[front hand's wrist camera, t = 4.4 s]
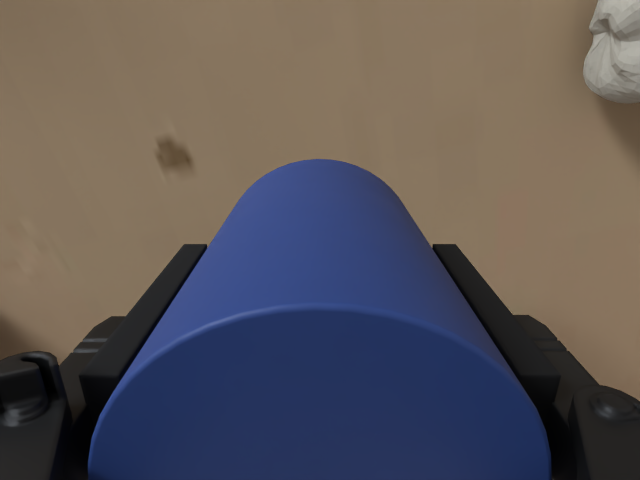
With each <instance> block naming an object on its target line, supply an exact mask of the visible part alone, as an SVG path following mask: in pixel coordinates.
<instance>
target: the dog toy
mask: <svg viewBox="0 0 640 480" xmlns="http://www.w3.org/2000/svg"><path fill="white" fill-rule="evenodd" d="M589 30H590V31H591V33H592V34H593V43H592V46H591V48H590V50H589V52H588V54H587V56H586V58H585V61H584V66H583V76H584V79H585V83H586V84H587V86H588V87H589V88H590V89H591V90H592V91H593V92H595V93H596V94H598V95H599V96H601V97H602V98H604V99H606V100H610V101H614V102H618V103H638V102H640V0H598V3H597V6H596V9H595V13H594V16H593V18H592V20H591V23H590V26H589Z"/></svg>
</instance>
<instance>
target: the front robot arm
mask: <svg viewBox="0 0 640 480" xmlns="http://www.w3.org/2000/svg"><path fill="white" fill-rule="evenodd" d="M432 249H433V251H434V252H435V254H436V255H437V257H438V258H439V260H440V261H441V263H442V264H443V266H444V267H445V269H446V270H447V272H448V274H449V275H450V277H451V278H452V280H453V281H454V283H455V284H456V286H457V287H458V289H459V290H460V292H461V293H462V295H463V296H464V298H465V300H466V301H467V303H468V304H469V306H470V307H471V309H472V310H473V312H474V313H475V315H476V316H477V318H478V319H479V321H480V322H481V324H482V326H483V327H484V329H485V330H486V332H487V333H488V335H489V336H490V338H491V339H492V341H493V342H494V344H495V345H496V347H497V348H498V350H499V352H500V353H501V355H502V356H503V358H504V359H505V361H506V362H507V364H508V365H509V367H510V368H511V370H512V371H513V373H514V374H515V376H516V378H517V379H518V381H519V382H520V384H521V385H522V387H523V388H524V390H525V391H526V393H527V394H528V396H529V398H530V399H531V401H532V402H533V404H534V405H535V407H536V408H537V411H538V413H539V416H540V418H541V420H542V423H543V425H544V428H545V430H546V434H547V438H548V443H549V448H550V452H551V473H552V480H640V401H638V400H637V399H636V398H634V397H632V396H630V395H628V394H626V393H624V392H622V391H620V390H617V389H614V388H610V387H607V386H602V385H599V384H598V383H597V382H596V381H595V379H594V378H593V377H592V376H591V375H590V374H589V373H588V372H587V371H586V370H585V368H584V367H583V366H582V365H581V364H580V363H579V362H578V361H577V360H576V359H575V357H574V356H573V355H572V354H571V353H570V352H569V351H567V350H566V347H565V346H564V345H563V344H562V343H561V342H560V341H557V338H556V336H555V335H554V334H553V333H552V332H551V331H550V330H549V329H548V328H547V326H545V325H544V324H542V323H541V322H539V321H537V320H536V319H534V318H532V317H531V316H529V315H512V314H511V312H510V311H509V310H508V309H507V307H506V306H505V305H504V304H503V302H502V301H501V300H500V299H499V297H498V296H497V295H496V294H495V292H494V291H493V290H492V289H491V288H490V286H489V285H488V284H487V283H486V281H485V280H484V279H483V278H482V276H481V275H480V274H479V273H478V271H477V270H476V269H475V268H474V266H473V265H472V264H471V263H470V262H469V260H468V259H467V258H466V257H465V255H464V254H463V253H462V252H461V250H460V249H459V248H458V247H457V245H456V244H433V248H432ZM206 250H207V244H184V245H183V246H182V248H181V249H180V250H179V251H178V253H177V254H176V255H175V256H174V257H173V259H172V260H171V261H170V262H169V264H168V265H167V266H166V267H165V269H164V270H163V271H162V272H161V274H160V275H159V276H158V277H157V279H156V280H155V281H154V282H153V283H152V285H151V286H150V287H149V288H148V290H147V291H146V292H145V293H144V295H143V296H142V297H141V298H140V300H139V301H138V302H137V303H136V305H135V306H134V307H133V308H132V309H131V311H130V312H129V313H128V314H127V316H111V317H110V318H108V319H107V320H105V321H103V322H102V323H100V324H98V325H97V326H95V327H94V328H93V329H92V330H91V331H90V332H89V333H88V335H87V336H86V337H85V338H84V339H83V342H80V343H79V345H78V346H77V347H76V348H75V349H74V352H73V353H70V355H69V356H68V357H67V358H66V359H65V360H64V361H63V362H62V363H61V365H60V366H59V365H58V362H57V358H56V357H55V356H54V355H52V354H51V353H49V352H42V351H33V352H24V353H20V354H17V355H13V356H10V357H7V358H5V359H2V360H0V480H88V459H89V452H90V446H91V439H92V436H93V433H94V430H95V427H96V424H97V422H98V419H99V416H100V414H101V412H102V410H103V409H104V407H105V405H106V403H107V402H108V400H109V398H110V396H111V395H112V393H113V391H114V390H115V388H116V387H117V385H118V384H119V382H120V381H121V379H122V378H123V376H124V375H125V373H126V372H127V370H128V369H129V367H130V366H131V364H132V362H133V361H134V359H135V358H136V356H137V355H138V353H139V352H140V350H141V349H142V347H143V346H144V344H145V343H146V341H147V340H148V338H149V337H150V335H151V334H152V332H153V330H154V329H155V327H156V326H157V324H158V323H159V321H160V320H161V318H162V317H163V315H164V314H165V312H166V311H167V309H168V308H169V306H170V305H171V303H172V301H173V300H174V298H175V297H176V295H177V294H178V292H179V291H180V289H181V288H182V286H183V285H184V283H185V282H186V280H187V279H188V277H189V276H190V274H191V273H192V271H193V269H194V268H195V266H196V265H197V263H198V262H199V260H200V259H201V257H202V256H203V254H204V253H205V251H206Z"/></svg>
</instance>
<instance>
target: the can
mask: <svg viewBox="0 0 640 480" xmlns="http://www.w3.org/2000/svg"><path fill="white" fill-rule="evenodd" d="M88 480H552V473H551V452H550V448H549V443H548V438H547V434H546V430H545V428H544V425H543V423H542V420H541V418H540V416H539V413H538V411H537V408H536V407H535V405H534V404H533V402H532V401H531V399H530V398H529V396H528V394H527V393H526V391H525V390H524V388H523V387H522V385H521V384H520V382H519V381H518V379H517V378H516V376H515V374H514V373H513V371H512V370H511V368H510V367H509V365H508V364H507V362H506V361H505V359H504V358H503V356H502V355H501V353H500V352H499V350H498V348H497V347H496V345H495V344H494V342H493V341H492V339H491V338H490V336H489V335H488V333H487V332H486V330H485V329H484V327H483V326H482V324H481V322H480V321H479V319H478V318H477V316H476V315H475V313H474V312H473V310H472V309H471V307H470V306H469V304H468V303H467V301H466V300H465V298H464V296H463V295H462V293H461V292H460V290H459V289H458V287H457V286H456V284H455V283H454V281H453V280H452V278H451V277H450V275H449V274H448V272H447V270H446V269H445V267H444V266H443V264H442V263H441V261H440V260H439V258H438V257H437V255H436V254H435V252H434V251H433V249H432V248H431V246H430V245H429V243H428V241H427V240H426V238H425V237H424V235H423V234H422V232H421V231H420V229H419V228H418V226H417V225H416V223H415V222H414V220H413V219H412V217H411V215H410V214H409V212H408V211H407V209H406V208H405V206H404V205H403V203H402V202H401V200H400V199H399V197H398V196H397V195H396V194H395V192H394V191H393V190H392V189H391V188H390V187H389V186H388V185H387V184H386V183H384V182H383V181H382V180H381V179H380V178H378V177H377V176H375V175H373V174H372V173H370V172H369V171H367V170H364V169H362V168H360V167H358V166H355V165H352V164H349V163H346V162H341V161H336V160H326V159H313V160H303V161H299V162H294V163H290V164H287V165H285V166H282V167H279V168H277V169H275V170H273V171H271V172H269V173H268V174H266V175H265V176H263V177H262V178H260V179H259V180H258V181H256V182H255V183H254V184H253V185H252V186H251V187H250V188H249V189H248V190H247V191H246V192H245V193H244V194H243V196H242V197H241V198H240V199H239V201H238V202H237V204H236V205H235V207H234V208H233V210H232V212H231V213H230V215H229V216H228V218H227V219H226V221H225V222H224V224H223V225H222V227H221V228H220V230H219V231H218V233H217V234H216V236H215V237H214V239H213V241H212V242H211V244H210V245H209V247H208V248H207V250H206V251H205V253H204V254H203V256H202V257H201V259H200V260H199V262H198V263H197V265H196V266H195V268H194V269H193V271H192V273H191V274H190V276H189V277H188V279H187V280H186V282H185V283H184V285H183V286H182V288H181V289H180V291H179V292H178V294H177V295H176V297H175V298H174V300H173V301H172V303H171V305H170V306H169V308H168V309H167V311H166V312H165V314H164V315H163V317H162V318H161V320H160V321H159V323H158V324H157V326H156V327H155V329H154V330H153V332H152V334H151V335H150V337H149V338H148V340H147V341H146V343H145V344H144V346H143V347H142V349H141V350H140V352H139V353H138V355H137V356H136V358H135V359H134V361H133V362H132V364H131V366H130V367H129V369H128V370H127V372H126V373H125V375H124V376H123V378H122V379H121V381H120V382H119V384H118V385H117V387H116V388H115V390H114V391H113V393H112V395H111V396H110V398H109V400H108V402H107V403H106V405H105V407H104V409H103V410H102V412H101V414H100V416H99V419H98V422H97V424H96V427H95V430H94V433H93V436H92V439H91V446H90V452H89V459H88Z"/></svg>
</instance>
